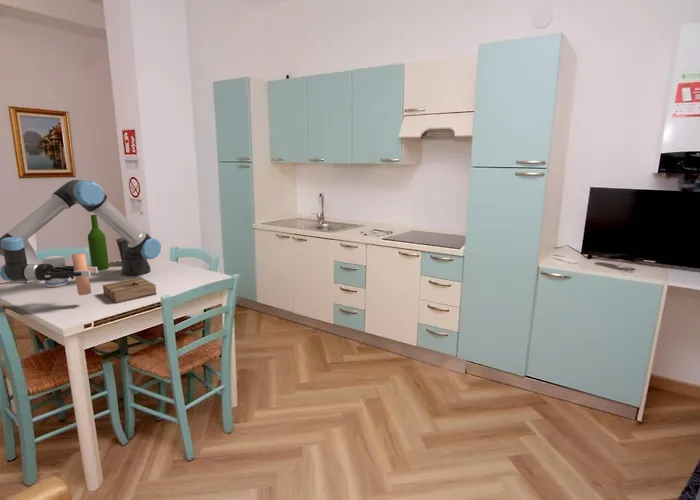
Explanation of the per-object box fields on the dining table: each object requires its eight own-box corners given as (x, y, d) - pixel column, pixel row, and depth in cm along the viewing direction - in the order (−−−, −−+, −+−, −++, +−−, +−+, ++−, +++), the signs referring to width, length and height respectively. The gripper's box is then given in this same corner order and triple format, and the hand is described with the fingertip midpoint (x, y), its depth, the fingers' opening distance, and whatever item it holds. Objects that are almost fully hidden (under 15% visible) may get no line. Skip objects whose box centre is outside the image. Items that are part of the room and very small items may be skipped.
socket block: (103, 294, 202) (102, 284, 201) (142, 286, 215) (141, 277, 214) (116, 303, 190) (115, 293, 189) (156, 294, 203) (155, 284, 202)
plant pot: (153, 261, 267) (150, 237, 263) (135, 268, 251) (132, 242, 248) (131, 260, 270) (129, 235, 267) (112, 266, 255) (109, 240, 251)
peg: (76, 293, 186) (70, 254, 182) (89, 290, 190) (83, 252, 186) (79, 295, 183) (73, 256, 179) (92, 293, 186) (86, 254, 182)
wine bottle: (94, 267, 252) (87, 214, 245) (111, 266, 255) (104, 213, 248) (89, 271, 244) (82, 216, 237) (106, 270, 246) (99, 215, 239)
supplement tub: (41, 287, 213) (37, 260, 210) (53, 282, 222) (49, 255, 219) (61, 287, 213) (56, 259, 210) (72, 282, 222) (68, 255, 219)
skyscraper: (45, 278, 229) (37, 228, 223) (43, 282, 222) (34, 230, 216) (26, 280, 225) (17, 229, 219) (23, 284, 218) (14, 232, 212)
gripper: (55, 274, 193) (105, 274, 194) (27, 286, 176) (82, 286, 176) (52, 259, 192) (103, 258, 192) (23, 269, 174) (79, 269, 175)
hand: (93, 271), depth 184 cm, fingers closed on peg, 5 cm apart
